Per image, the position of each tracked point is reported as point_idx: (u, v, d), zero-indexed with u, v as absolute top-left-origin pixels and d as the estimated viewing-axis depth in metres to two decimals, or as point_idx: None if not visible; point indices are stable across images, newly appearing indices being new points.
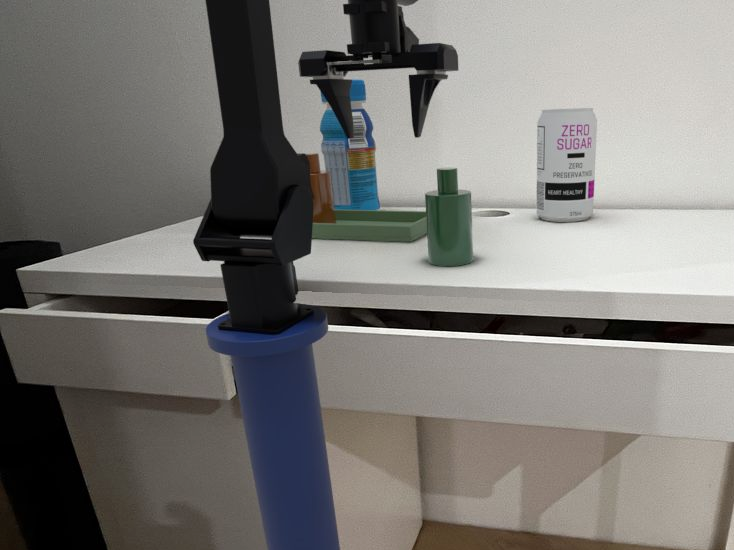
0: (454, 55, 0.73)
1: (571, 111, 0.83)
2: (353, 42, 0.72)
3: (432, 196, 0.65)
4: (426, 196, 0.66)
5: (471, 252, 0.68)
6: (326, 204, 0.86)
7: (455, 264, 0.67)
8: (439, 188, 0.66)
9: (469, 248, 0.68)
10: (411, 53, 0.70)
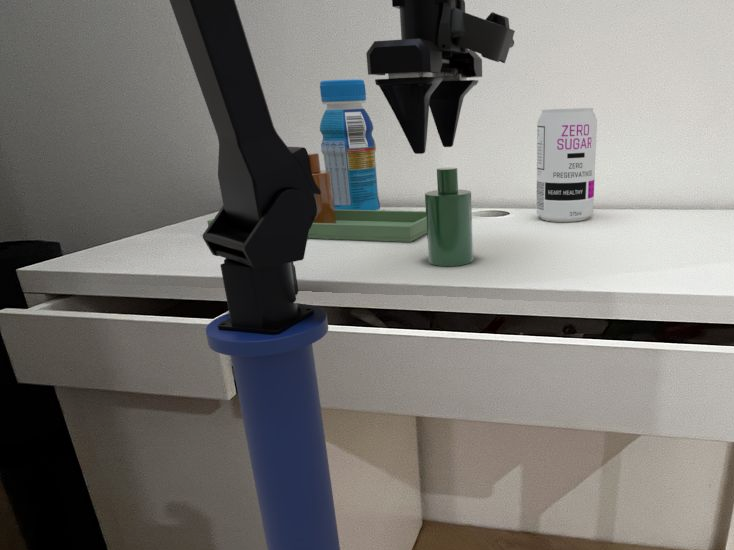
0: (408, 53, 0.55)
1: (571, 111, 0.83)
2: None
3: (432, 196, 0.65)
4: (426, 196, 0.66)
5: (471, 252, 0.68)
6: (326, 204, 0.86)
7: (455, 264, 0.67)
8: (439, 188, 0.66)
9: (469, 248, 0.68)
10: None
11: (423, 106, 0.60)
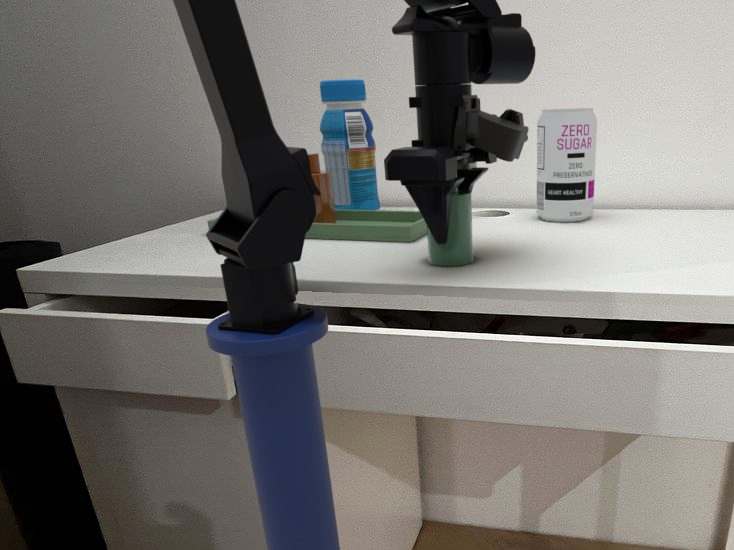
0: (425, 163, 0.57)
1: (571, 111, 0.83)
2: None
3: None
4: None
5: (471, 252, 0.68)
6: (326, 204, 0.86)
7: (455, 264, 0.67)
8: None
9: (469, 248, 0.68)
10: None
11: (445, 203, 0.63)
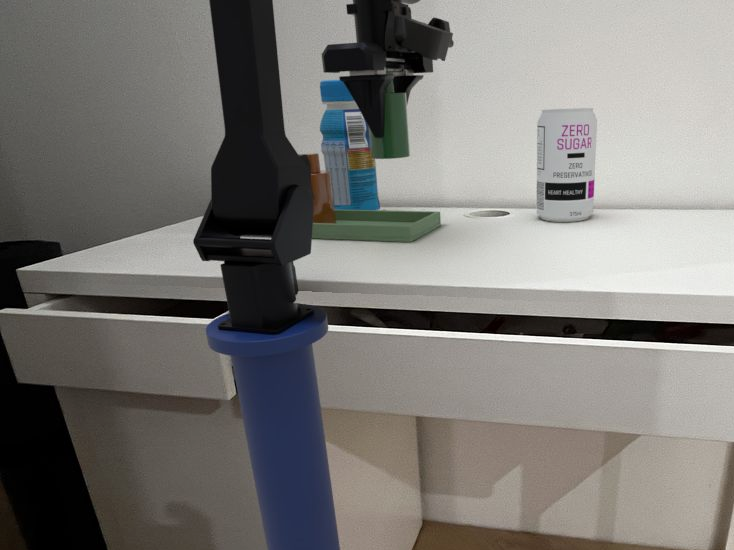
0: (354, 54, 0.66)
1: (571, 111, 0.83)
2: None
3: None
4: None
5: (407, 148, 0.78)
6: (326, 204, 0.86)
7: (392, 157, 0.77)
8: None
9: (405, 143, 0.77)
10: None
11: (379, 98, 0.73)
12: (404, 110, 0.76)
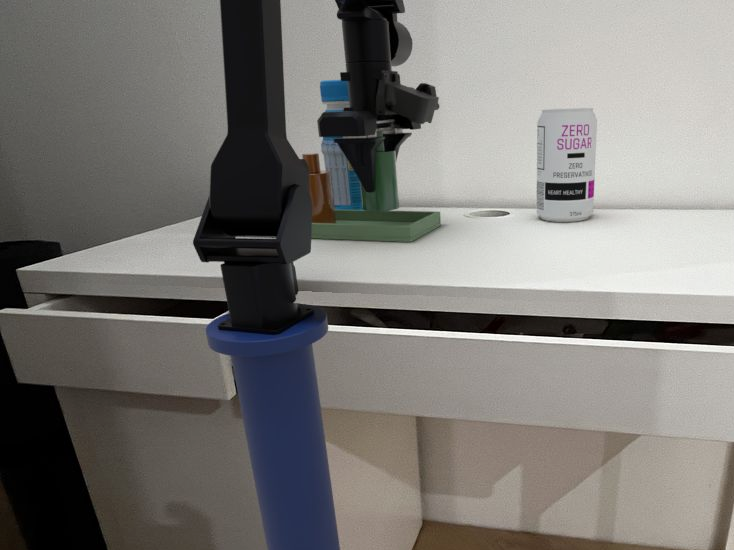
0: (348, 122, 0.72)
1: (571, 111, 0.83)
2: None
3: None
4: None
5: (396, 200, 0.84)
6: (326, 204, 0.86)
7: (382, 209, 0.83)
8: None
9: (394, 196, 0.83)
10: None
11: (370, 158, 0.78)
12: (393, 167, 0.82)
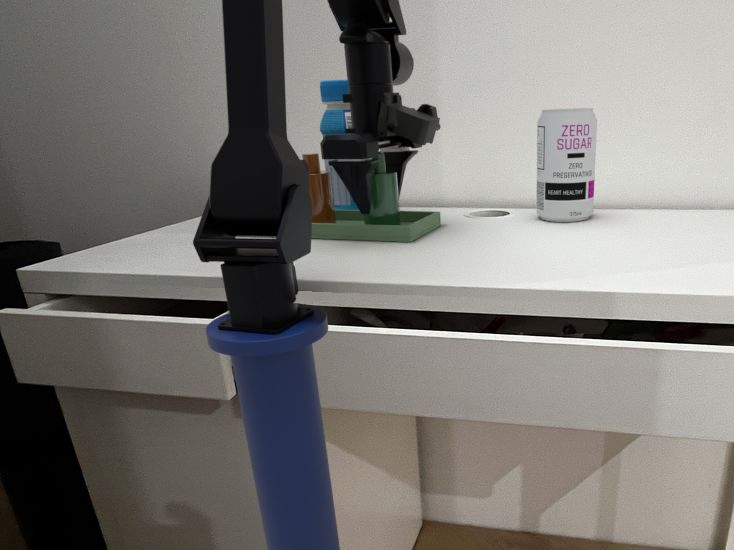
0: (350, 145, 0.73)
1: (571, 111, 0.83)
2: None
3: None
4: None
5: (398, 221, 0.85)
6: (326, 204, 0.86)
7: None
8: None
9: (396, 217, 0.84)
10: None
11: (365, 180, 0.78)
12: (395, 188, 0.83)
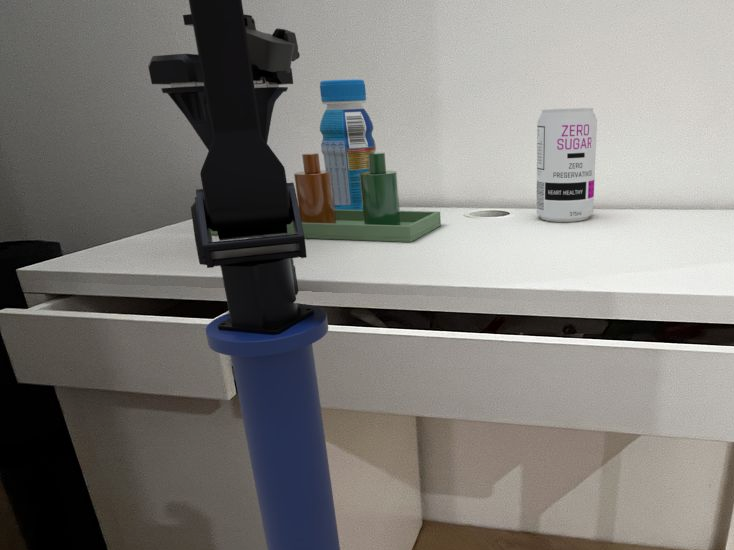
0: (177, 66, 0.65)
1: (571, 111, 0.83)
2: None
3: (364, 175, 0.82)
4: (360, 175, 0.83)
5: (398, 221, 0.85)
6: (326, 204, 0.86)
7: None
8: (370, 169, 0.82)
9: (396, 217, 0.84)
10: None
11: (206, 111, 0.69)
12: (395, 188, 0.83)
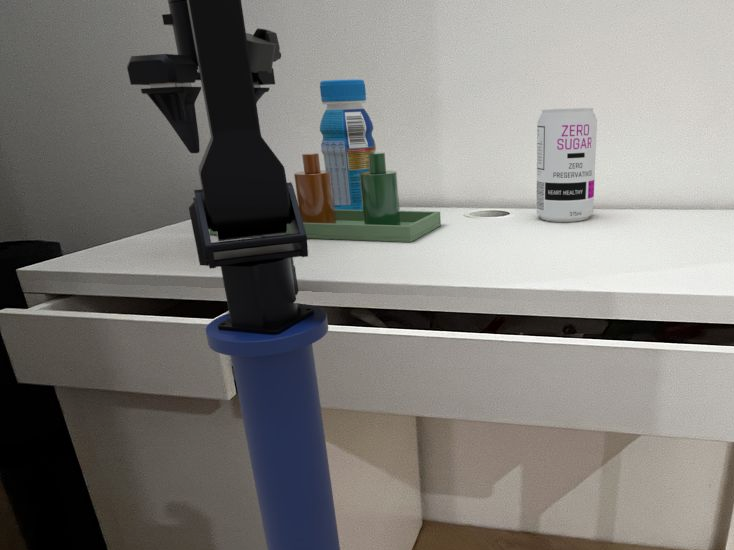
0: (156, 66, 0.64)
1: (571, 111, 0.83)
2: None
3: (364, 175, 0.82)
4: (360, 175, 0.83)
5: (398, 221, 0.85)
6: (326, 204, 0.86)
7: None
8: (370, 169, 0.82)
9: (396, 217, 0.84)
10: None
11: (186, 112, 0.68)
12: (395, 188, 0.83)
